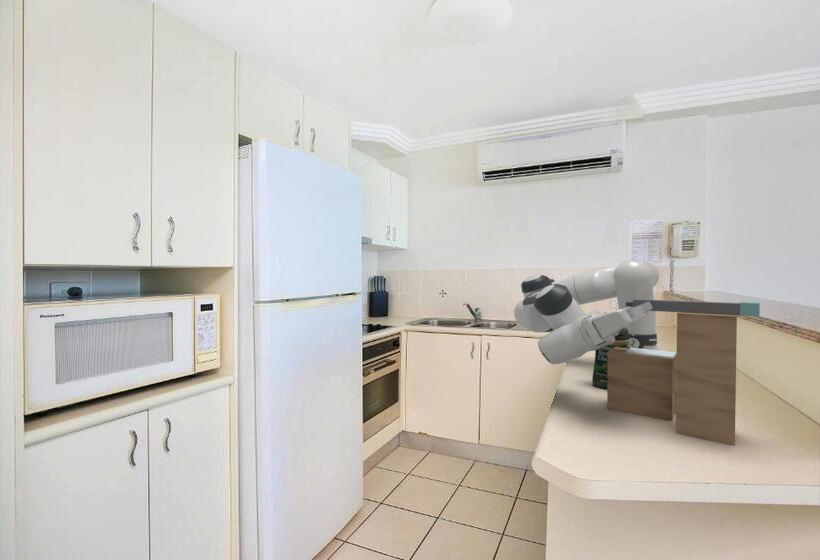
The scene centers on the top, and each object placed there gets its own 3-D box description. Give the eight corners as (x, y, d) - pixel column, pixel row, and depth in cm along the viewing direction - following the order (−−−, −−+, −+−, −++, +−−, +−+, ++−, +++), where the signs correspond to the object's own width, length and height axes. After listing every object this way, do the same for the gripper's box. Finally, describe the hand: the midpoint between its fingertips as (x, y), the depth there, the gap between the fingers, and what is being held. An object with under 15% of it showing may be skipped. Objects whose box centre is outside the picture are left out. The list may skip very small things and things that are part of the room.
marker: (627, 308, 97) (627, 298, 97) (758, 315, 82) (759, 302, 82) (625, 309, 95) (625, 298, 95) (759, 316, 80) (759, 303, 80)
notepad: (631, 349, 106) (631, 347, 106) (676, 354, 100) (676, 352, 100) (625, 353, 101) (625, 351, 101) (673, 358, 94) (673, 357, 94)
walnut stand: (614, 400, 109) (615, 304, 109) (735, 422, 93) (736, 310, 93) (598, 416, 97) (599, 309, 96) (734, 445, 81) (736, 316, 80)
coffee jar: (588, 386, 123) (589, 325, 122) (598, 381, 128) (599, 323, 128) (623, 393, 116) (623, 329, 115) (631, 387, 121) (632, 326, 121)
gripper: (615, 335, 108) (668, 312, 100) (594, 346, 92) (655, 319, 84) (602, 314, 109) (653, 289, 102) (580, 321, 94) (638, 293, 86)
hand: (654, 303), depth 93 cm, fingers open, 8 cm apart
